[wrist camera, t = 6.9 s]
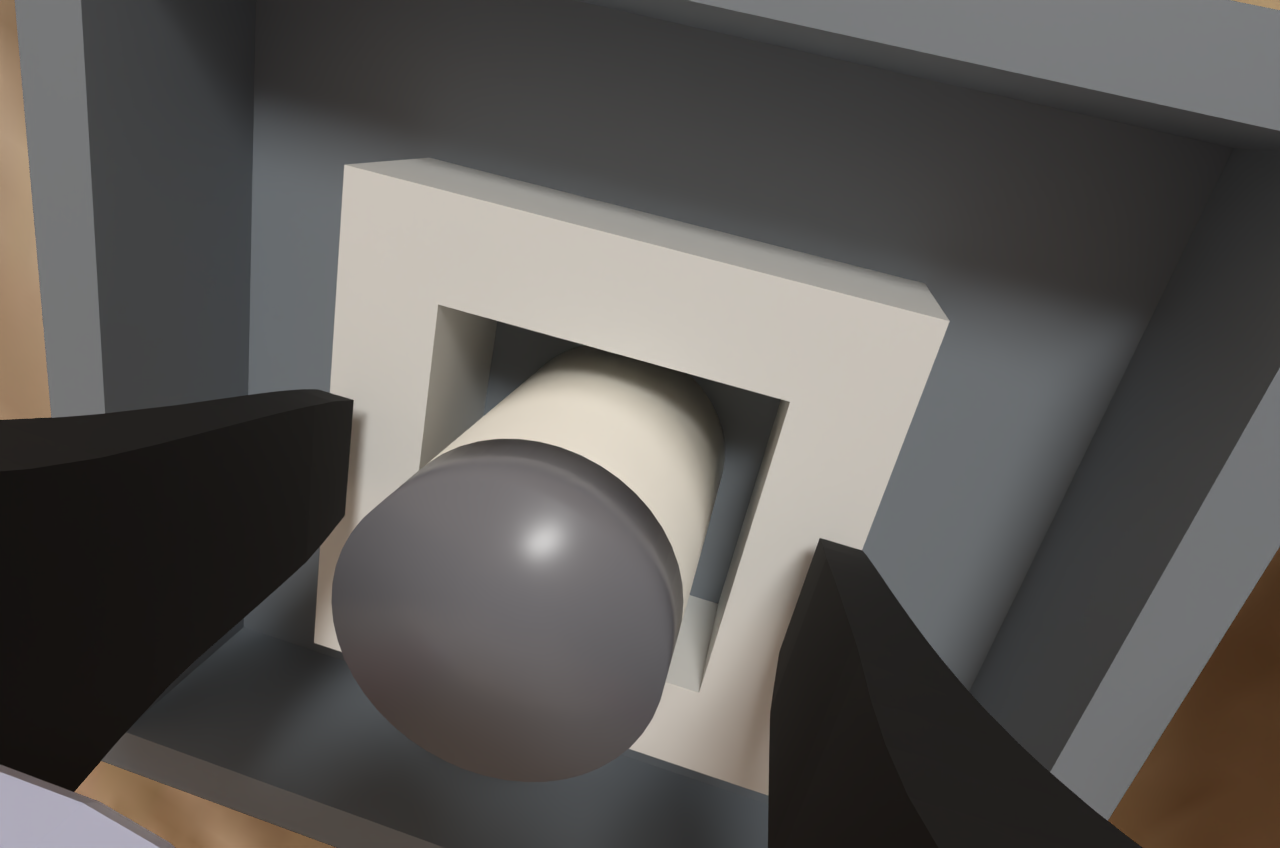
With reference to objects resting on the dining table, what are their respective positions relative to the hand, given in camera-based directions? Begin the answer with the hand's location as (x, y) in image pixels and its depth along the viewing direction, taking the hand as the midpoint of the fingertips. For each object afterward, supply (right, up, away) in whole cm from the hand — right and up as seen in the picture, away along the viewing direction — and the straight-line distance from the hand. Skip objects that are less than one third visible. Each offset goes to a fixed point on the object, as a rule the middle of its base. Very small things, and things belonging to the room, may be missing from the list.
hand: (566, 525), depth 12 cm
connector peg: (+1, +1, +3) cm, 3 cm away
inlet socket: (+1, +1, +3) cm, 4 cm away
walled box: (+1, +1, +3) cm, 4 cm away
